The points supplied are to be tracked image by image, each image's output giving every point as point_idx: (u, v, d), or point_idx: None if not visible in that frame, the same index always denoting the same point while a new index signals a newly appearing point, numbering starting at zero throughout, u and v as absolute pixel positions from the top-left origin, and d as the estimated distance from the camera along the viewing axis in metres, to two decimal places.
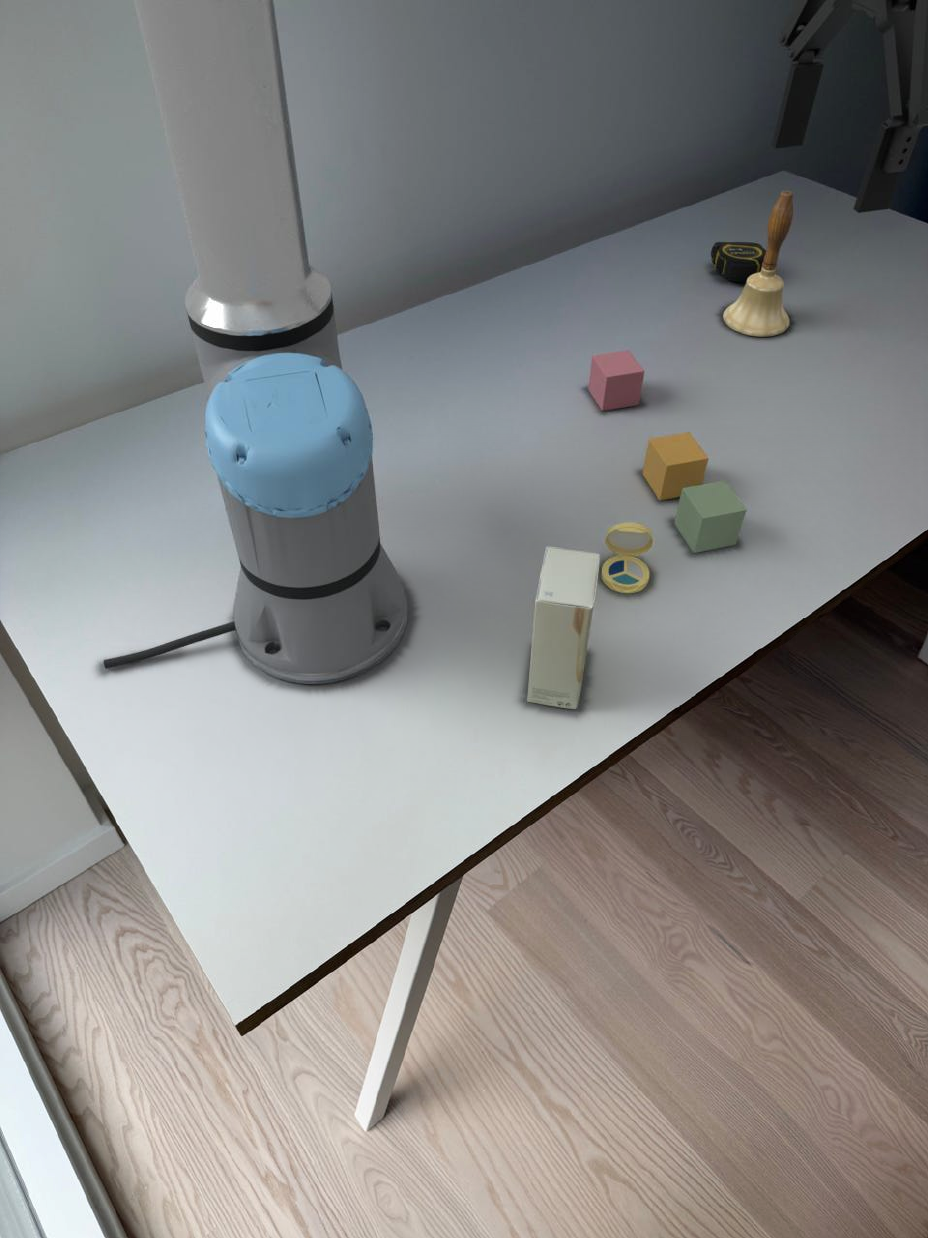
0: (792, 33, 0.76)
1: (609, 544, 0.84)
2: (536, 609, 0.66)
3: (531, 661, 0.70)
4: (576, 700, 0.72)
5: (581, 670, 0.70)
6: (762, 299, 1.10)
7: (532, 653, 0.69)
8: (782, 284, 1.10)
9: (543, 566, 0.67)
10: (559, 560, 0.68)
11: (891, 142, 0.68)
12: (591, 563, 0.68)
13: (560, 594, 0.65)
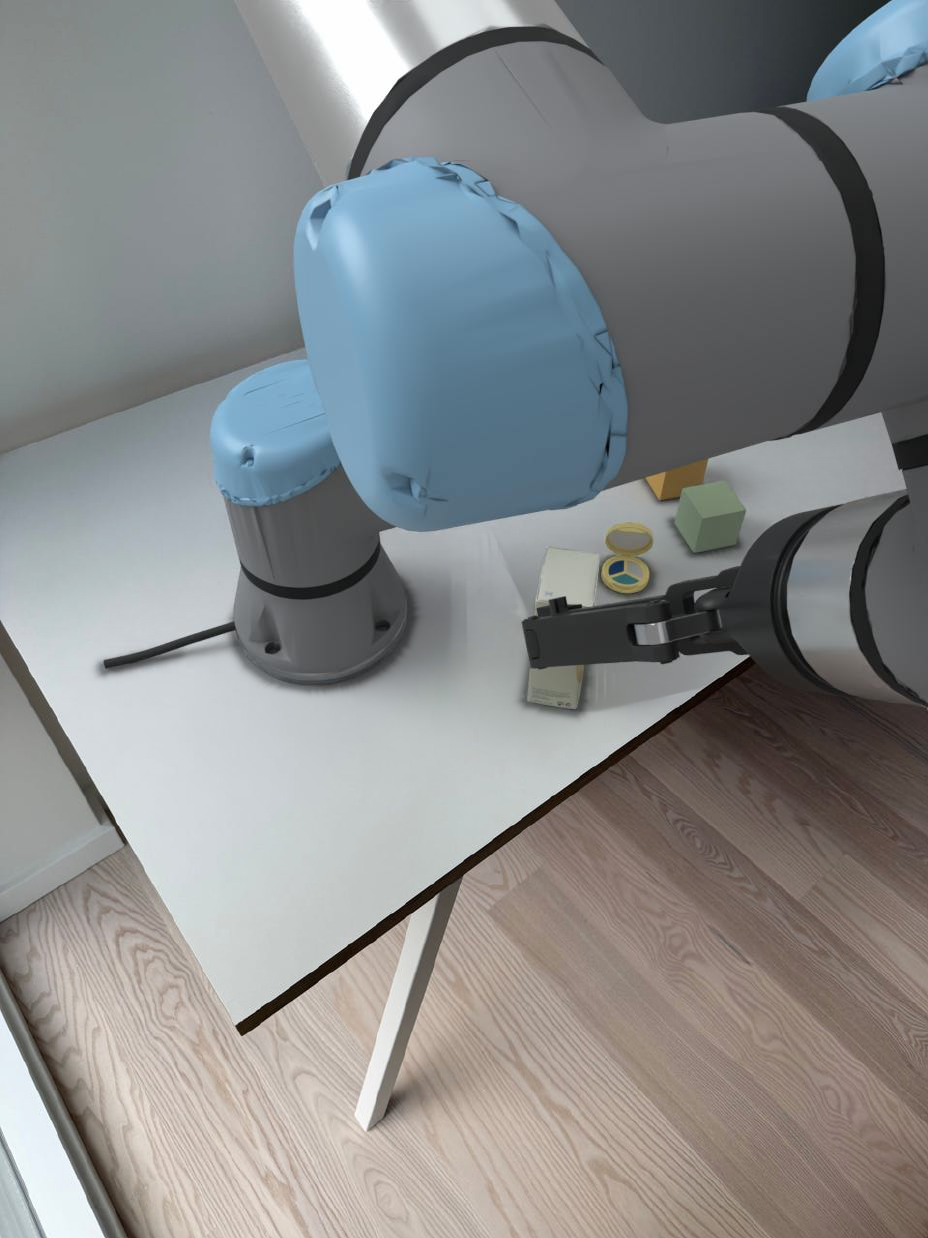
0: None
1: (609, 544, 0.84)
2: (536, 609, 0.66)
3: None
4: (576, 700, 0.72)
5: (581, 670, 0.70)
6: None
7: None
8: None
9: (543, 566, 0.67)
10: (559, 560, 0.68)
11: None
12: (591, 563, 0.68)
13: (560, 594, 0.65)
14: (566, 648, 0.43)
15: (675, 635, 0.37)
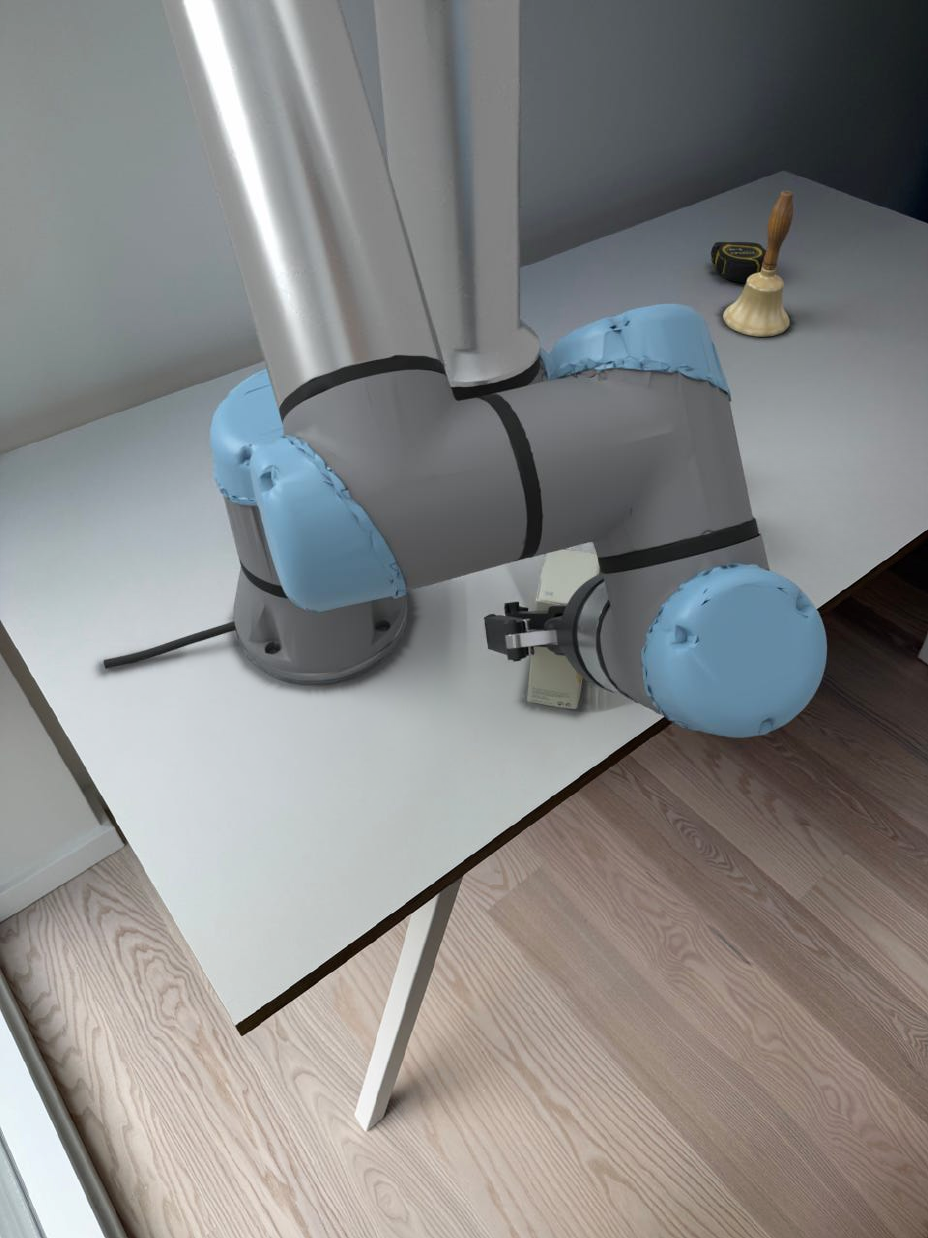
0: None
1: None
2: (536, 609, 0.66)
3: (531, 661, 0.70)
4: (576, 700, 0.72)
5: None
6: (762, 299, 1.10)
7: None
8: (782, 284, 1.10)
9: (543, 566, 0.67)
10: (559, 560, 0.68)
11: None
12: (591, 563, 0.68)
13: (561, 594, 0.65)
14: (494, 640, 0.64)
15: (520, 644, 0.58)
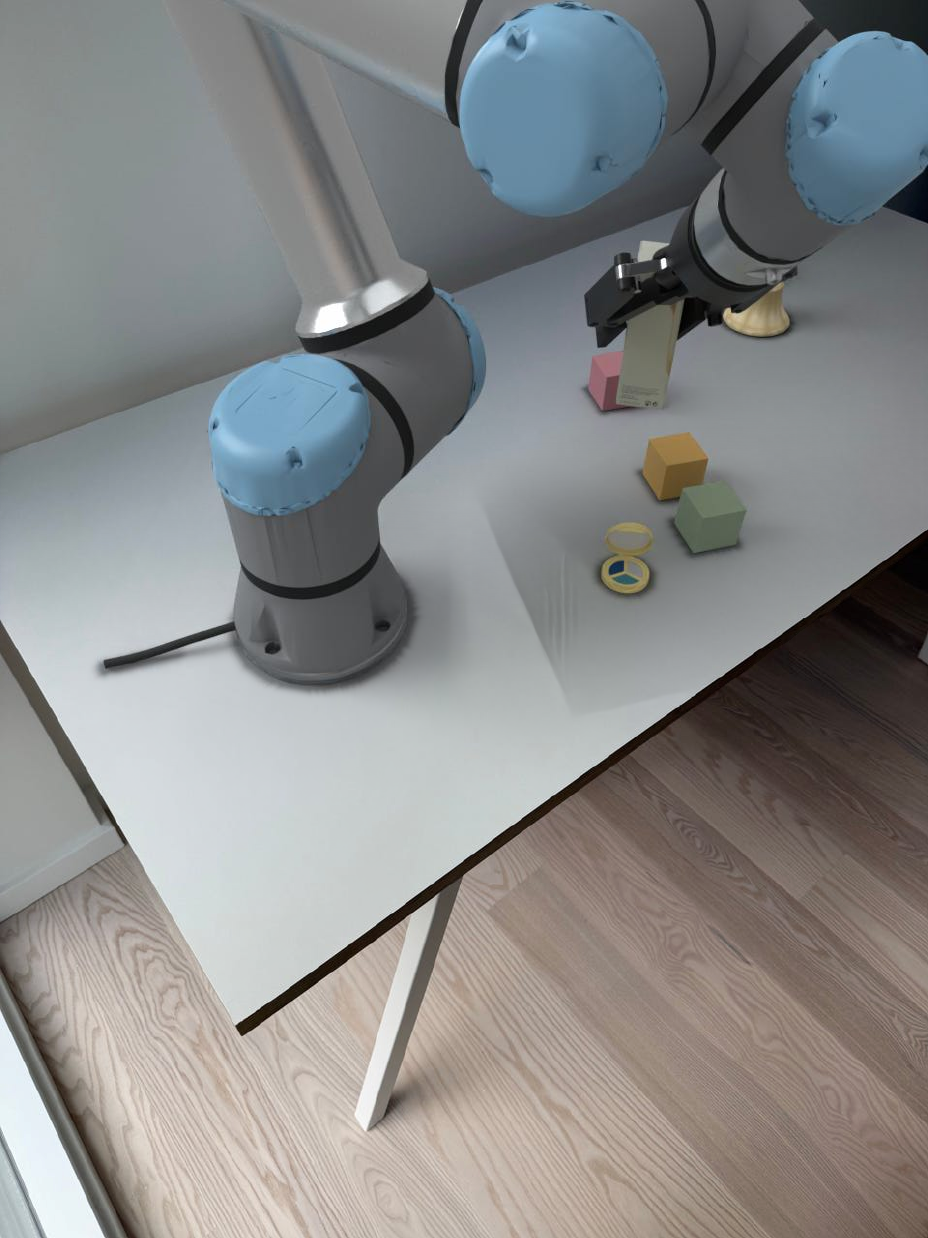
0: None
1: (609, 544, 0.84)
2: None
3: (624, 351, 0.75)
4: (663, 397, 0.77)
5: (671, 358, 0.74)
6: (762, 299, 1.10)
7: (626, 341, 0.74)
8: (782, 284, 1.10)
9: (639, 252, 0.72)
10: (654, 248, 0.73)
11: None
12: None
13: None
14: (597, 303, 0.69)
15: (630, 273, 0.63)
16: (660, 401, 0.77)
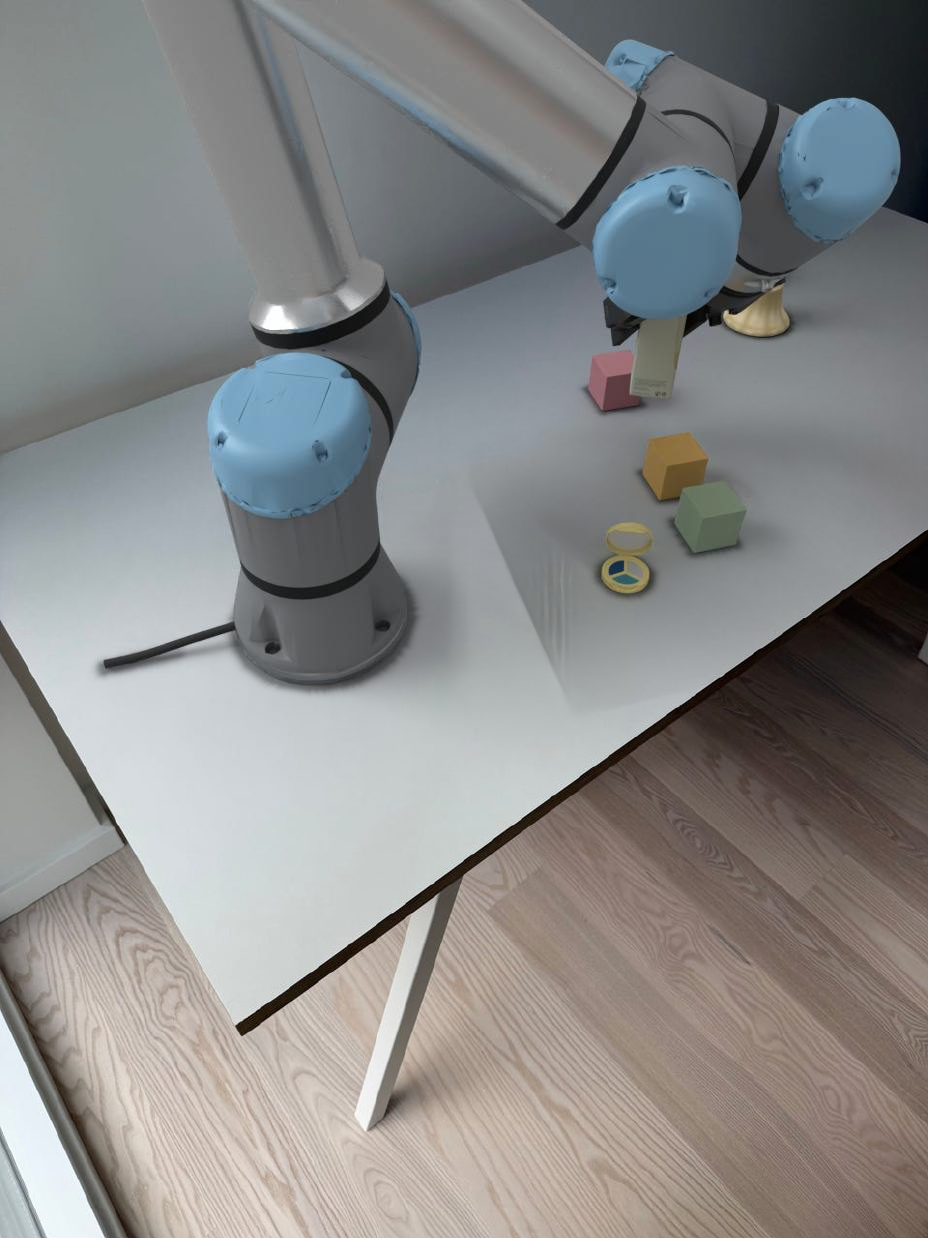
0: None
1: (609, 544, 0.84)
2: None
3: (637, 349, 0.87)
4: (671, 388, 0.89)
5: (678, 354, 0.86)
6: (762, 299, 1.10)
7: (639, 339, 0.86)
8: (782, 284, 1.10)
9: None
10: None
11: None
12: None
13: None
14: (615, 308, 0.81)
15: None
16: (668, 391, 0.89)
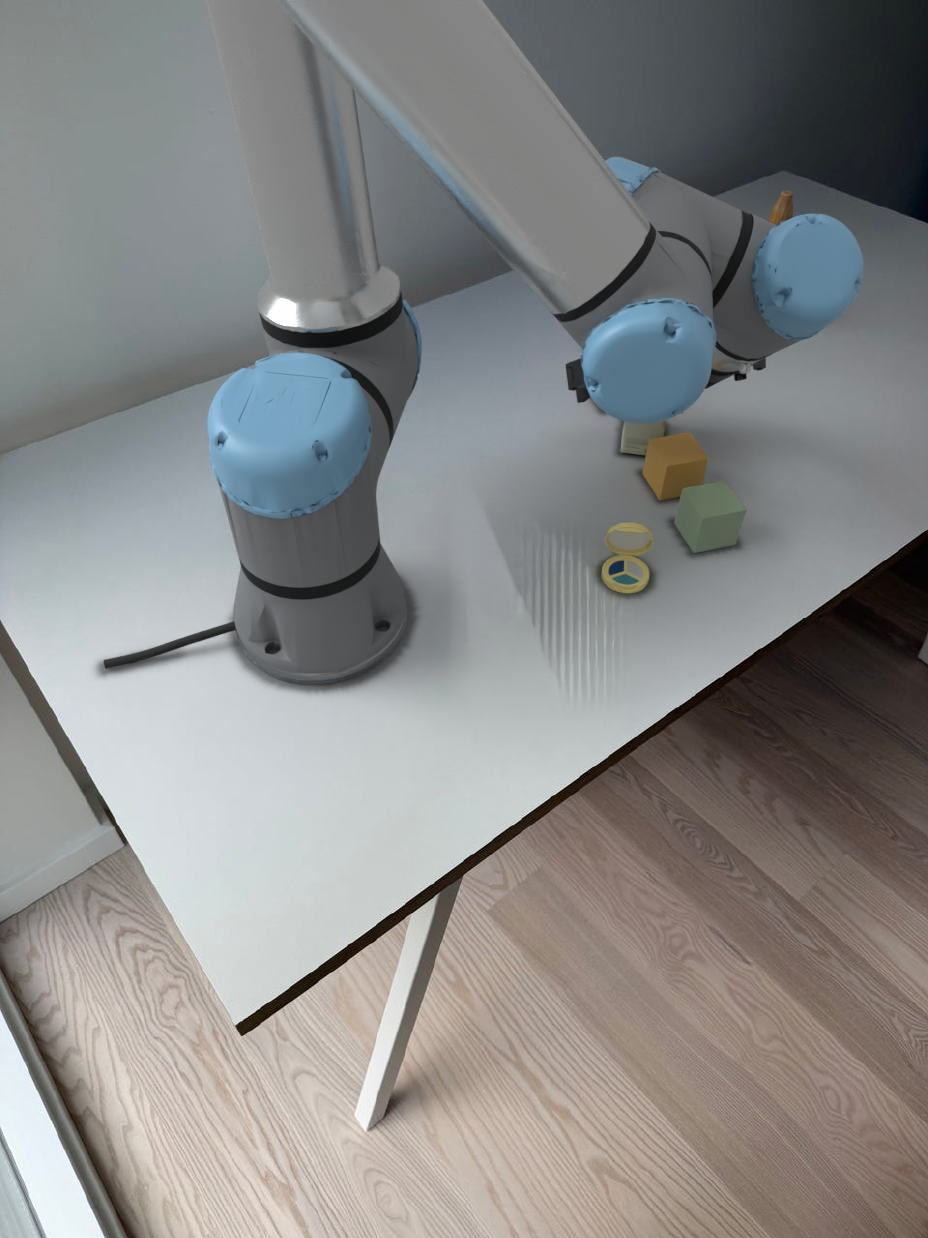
0: None
1: (609, 544, 0.84)
2: None
3: None
4: None
5: None
6: None
7: None
8: None
9: None
10: None
11: None
12: None
13: None
14: None
15: None
16: None
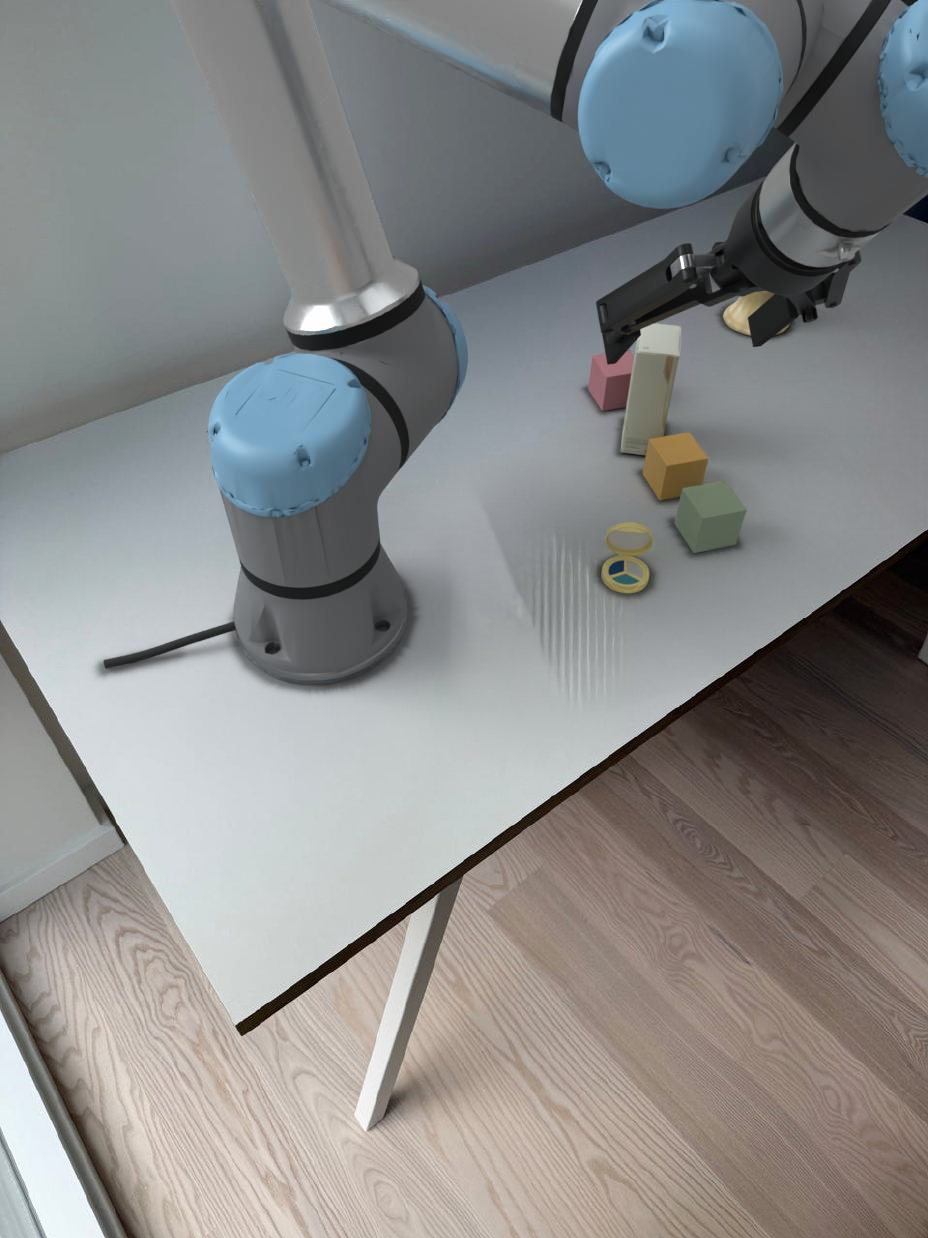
0: None
1: (609, 544, 0.84)
2: (636, 360, 0.88)
3: (628, 411, 0.92)
4: None
5: (666, 417, 0.92)
6: (762, 299, 1.10)
7: (629, 403, 0.91)
8: None
9: None
10: (651, 329, 0.90)
11: None
12: (675, 330, 0.90)
13: (654, 348, 0.87)
14: (626, 305, 0.67)
15: (695, 264, 0.61)
16: None
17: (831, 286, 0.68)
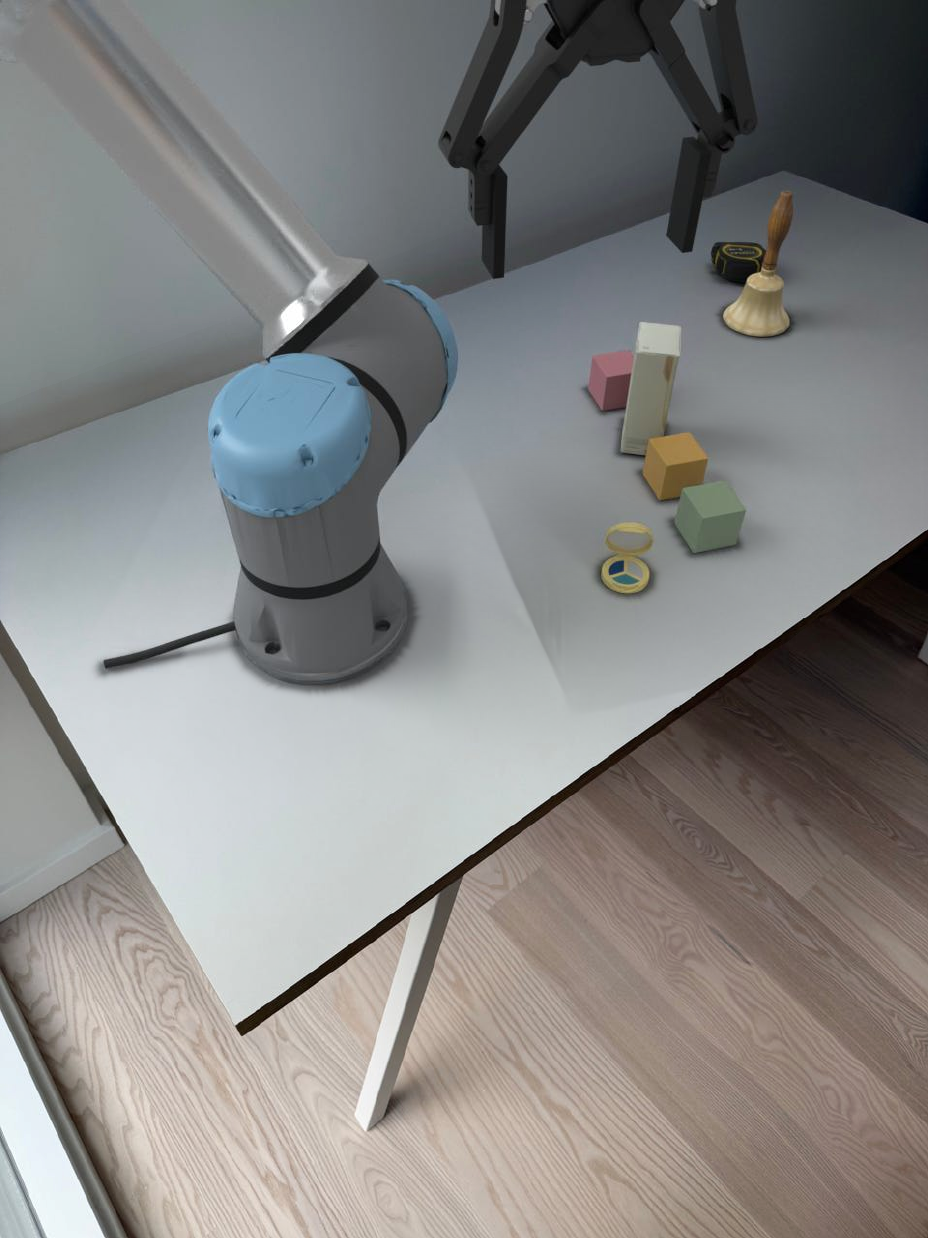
0: (721, 104, 0.57)
1: (609, 544, 0.84)
2: (636, 360, 0.88)
3: (628, 411, 0.92)
4: None
5: (666, 417, 0.92)
6: (762, 299, 1.10)
7: (629, 403, 0.91)
8: (782, 284, 1.10)
9: (639, 332, 0.90)
10: (651, 329, 0.90)
11: None
12: (675, 330, 0.90)
13: (654, 348, 0.87)
14: (464, 102, 0.51)
15: None
16: None
17: (725, 55, 0.53)
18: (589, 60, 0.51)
